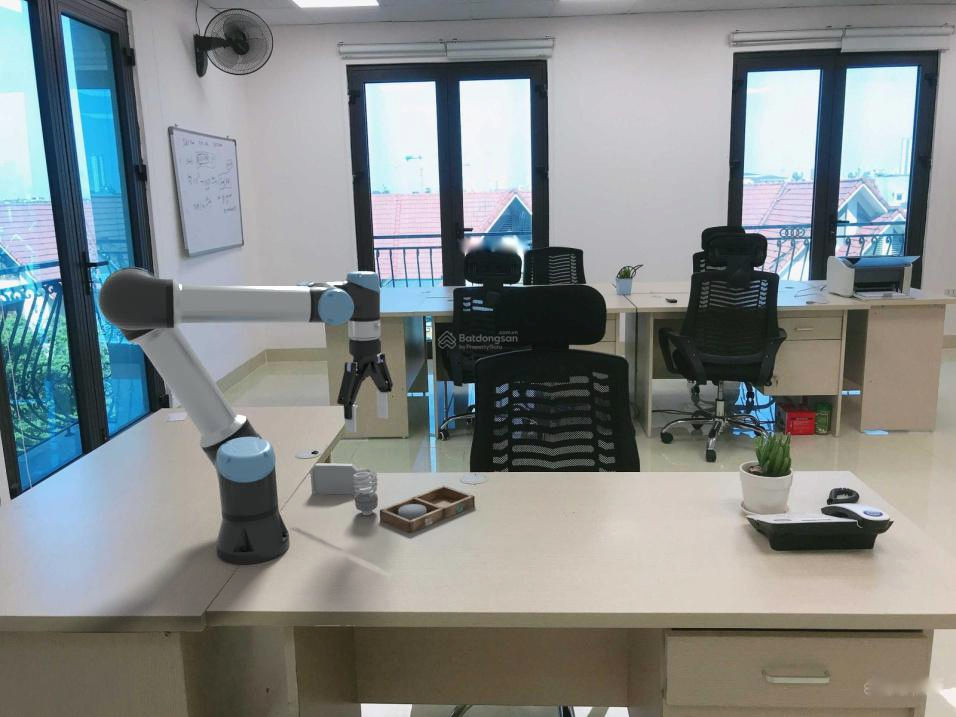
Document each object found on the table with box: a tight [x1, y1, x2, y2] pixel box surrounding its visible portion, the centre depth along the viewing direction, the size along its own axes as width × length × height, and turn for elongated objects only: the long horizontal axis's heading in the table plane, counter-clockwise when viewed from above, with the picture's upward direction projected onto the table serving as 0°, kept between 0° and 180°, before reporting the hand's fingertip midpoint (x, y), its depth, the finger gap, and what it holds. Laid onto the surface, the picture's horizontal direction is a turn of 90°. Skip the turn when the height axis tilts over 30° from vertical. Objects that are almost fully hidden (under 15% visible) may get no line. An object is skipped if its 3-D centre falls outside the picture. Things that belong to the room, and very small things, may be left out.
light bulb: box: [353, 467, 379, 516], centre depth 181 cm, size 6×6×12 cm
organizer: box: [379, 485, 476, 534], centre depth 181 cm, size 20×11×4 cm, turn 136°
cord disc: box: [398, 504, 426, 520], centre depth 178 cm, size 6×6×2 cm
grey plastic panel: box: [309, 462, 359, 496], centre depth 196 cm, size 2×12×8 cm, turn 84°
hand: (367, 424), depth 185 cm, fingers open, 13 cm apart
